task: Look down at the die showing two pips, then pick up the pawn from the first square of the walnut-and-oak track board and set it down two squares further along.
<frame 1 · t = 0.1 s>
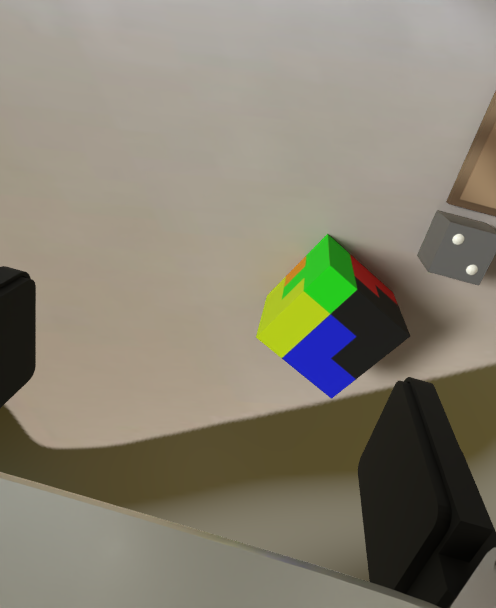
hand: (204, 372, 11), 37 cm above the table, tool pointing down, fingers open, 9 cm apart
puzzle toy: (328, 293, 49), on the table
die: (450, 239, 44), on the table
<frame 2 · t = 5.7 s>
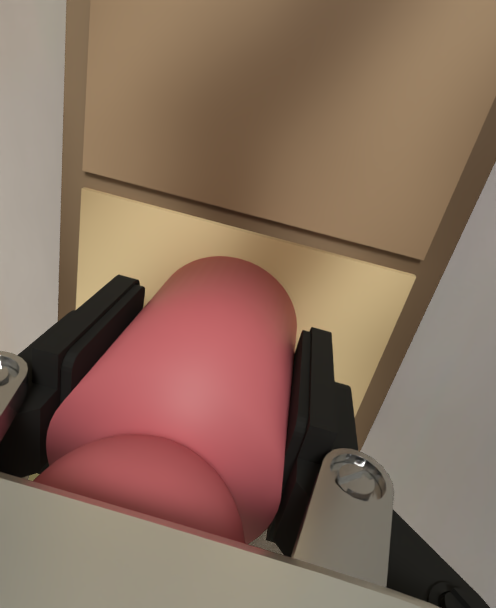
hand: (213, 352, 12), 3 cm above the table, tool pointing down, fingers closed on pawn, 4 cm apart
pawn: (225, 324, 13), point 1 cm above the table, touching board, gripper
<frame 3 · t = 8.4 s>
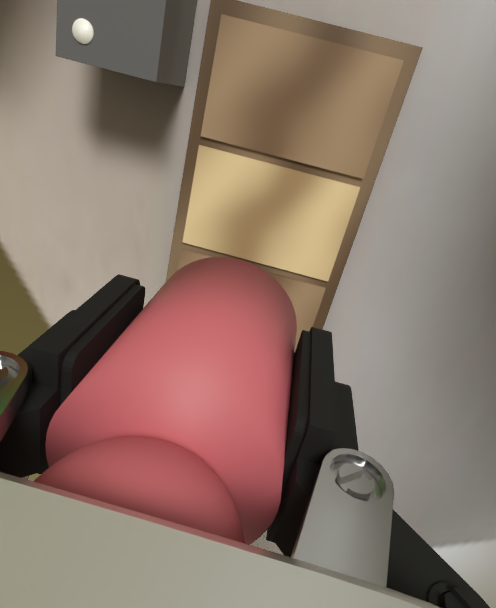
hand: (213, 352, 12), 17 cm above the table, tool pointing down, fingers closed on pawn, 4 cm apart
pawn: (225, 325, 13), point 15 cm above the table, touching gripper
board: (256, 259, 28), on the table
die: (148, 26, 24), on the table
when the fingers open (4 cm above the table, at t = 11.3 s): pawn stays where it is, resting on board.
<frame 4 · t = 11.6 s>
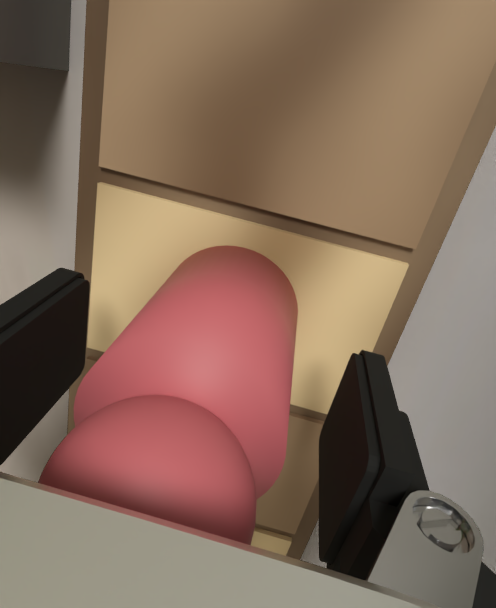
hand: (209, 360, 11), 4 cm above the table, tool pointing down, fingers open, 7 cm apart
pawn: (230, 310, 14), point 1 cm above the table, touching board
board: (219, 369, 17), on the table
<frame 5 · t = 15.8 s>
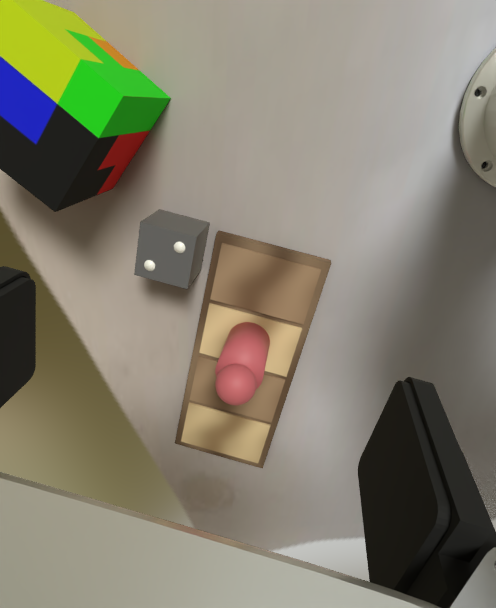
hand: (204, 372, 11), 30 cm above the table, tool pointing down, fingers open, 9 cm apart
puzzle toy: (96, 107, 38), on the table
pawn: (248, 341, 44), point 1 cm above the table, touching board
board: (243, 360, 47), on the table
die: (180, 240, 42), on the table
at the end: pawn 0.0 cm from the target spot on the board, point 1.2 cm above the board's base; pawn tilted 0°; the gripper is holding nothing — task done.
